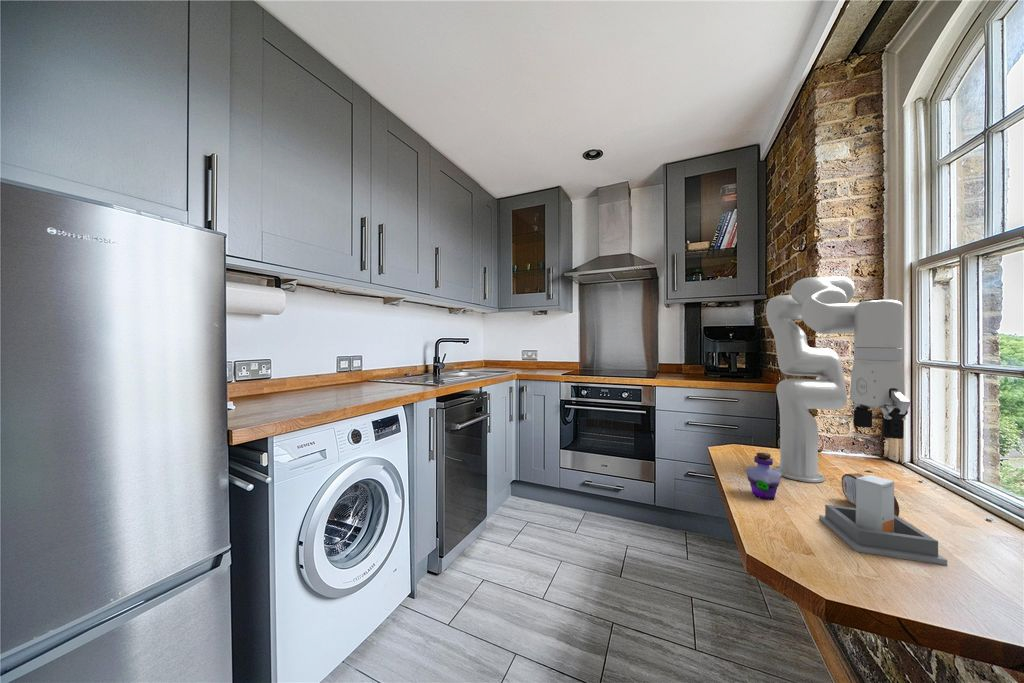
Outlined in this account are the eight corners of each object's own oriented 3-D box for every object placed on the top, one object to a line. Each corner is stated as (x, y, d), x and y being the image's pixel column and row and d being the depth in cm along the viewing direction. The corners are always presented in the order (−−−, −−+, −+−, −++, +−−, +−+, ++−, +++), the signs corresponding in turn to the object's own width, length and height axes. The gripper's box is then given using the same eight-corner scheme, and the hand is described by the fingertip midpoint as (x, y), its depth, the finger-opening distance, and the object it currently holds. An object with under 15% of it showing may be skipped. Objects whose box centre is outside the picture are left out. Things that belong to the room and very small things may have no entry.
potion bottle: (750, 500, 95) (750, 456, 95) (741, 487, 103) (741, 447, 103) (788, 505, 92) (788, 459, 92) (775, 492, 100) (775, 450, 100)
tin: (901, 527, 81) (900, 491, 81) (885, 525, 81) (884, 490, 82) (852, 499, 96) (851, 469, 96) (838, 498, 96) (838, 468, 96)
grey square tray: (819, 519, 84) (819, 502, 84) (893, 528, 80) (893, 511, 80) (856, 551, 71) (856, 531, 71) (947, 565, 67) (947, 544, 67)
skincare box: (881, 542, 73) (881, 485, 73) (855, 532, 77) (854, 477, 77) (895, 536, 75) (895, 480, 75) (869, 526, 79) (868, 474, 79)
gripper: (834, 354, 87) (834, 422, 87) (882, 357, 70) (882, 441, 70) (873, 354, 84) (872, 424, 84) (932, 358, 68) (931, 445, 68)
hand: (876, 432), depth 77 cm, fingers open, 9 cm apart
